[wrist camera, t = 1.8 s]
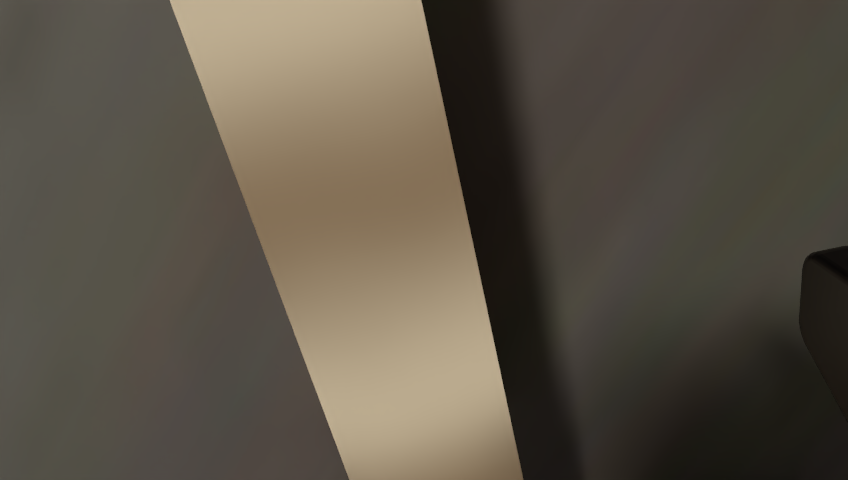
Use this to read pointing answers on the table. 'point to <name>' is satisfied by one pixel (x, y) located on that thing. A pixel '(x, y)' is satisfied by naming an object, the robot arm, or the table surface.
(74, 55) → the table surface
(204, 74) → the light wooden block
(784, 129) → the table surface
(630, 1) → the table surface
